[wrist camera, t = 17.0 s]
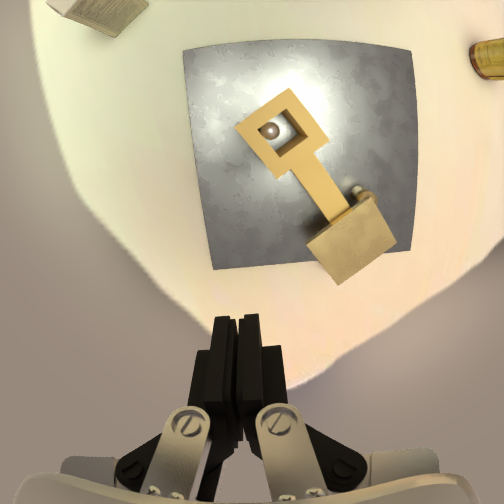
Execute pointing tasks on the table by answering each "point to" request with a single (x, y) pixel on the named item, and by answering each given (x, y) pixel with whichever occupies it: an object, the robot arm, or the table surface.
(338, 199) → the link
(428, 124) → the table surface
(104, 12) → the skincare box
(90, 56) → the table surface
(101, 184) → the table surface
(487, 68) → the sauce bottle
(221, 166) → the pintle board
